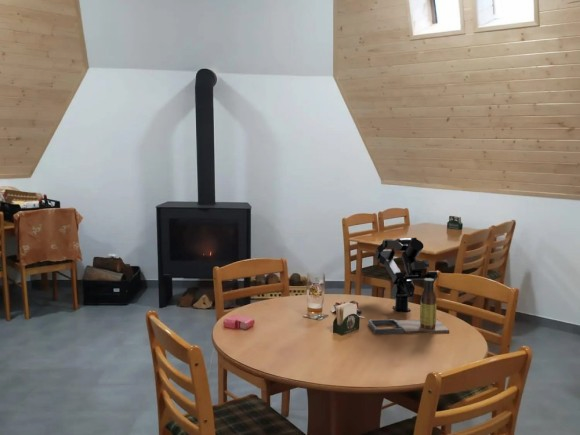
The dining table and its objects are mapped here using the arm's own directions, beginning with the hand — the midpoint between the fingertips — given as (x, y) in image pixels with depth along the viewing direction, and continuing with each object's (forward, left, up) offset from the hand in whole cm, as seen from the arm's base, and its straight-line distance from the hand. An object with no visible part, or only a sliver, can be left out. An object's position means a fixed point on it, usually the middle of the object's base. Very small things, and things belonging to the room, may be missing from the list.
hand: (420, 295), depth 211 cm
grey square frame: (+6, -16, -12) cm, 21 cm away
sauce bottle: (+7, +1, -11) cm, 13 cm away
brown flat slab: (+5, -1, -12) cm, 13 cm away
